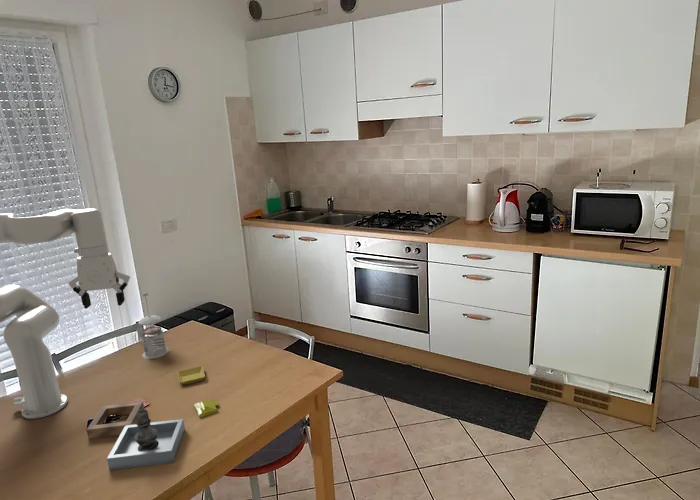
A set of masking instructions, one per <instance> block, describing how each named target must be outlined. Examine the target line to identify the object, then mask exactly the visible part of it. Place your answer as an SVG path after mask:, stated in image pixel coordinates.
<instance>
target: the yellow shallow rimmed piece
mask: <svg viewBox="0 0 700 500" xmlns="http://www.w3.org/2000/svg"><path fill="white" fill-rule="evenodd" d="M176 373H177V379H178V383H179V384H180V385H182V386H183V385H189V384H194V383H197V382H202V381H203V380H204V379H205V378H206V374H205V369H204V366H203V365H200V366H196V367H191V368H187V369H182V370H179V371H177V372H176Z"/></svg>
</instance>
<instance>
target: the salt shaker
mask: <svg viewBox="0 0 700 500" xmlns="http://www.w3.org/2000/svg"><path fill="white" fill-rule="evenodd" d="M148 412H149V411H148V410H147V409H146V408H144V409H142V407H140V410H139V411H137V413H136V417H137V424H136V425H137V426H138V428H139V432H138V433H137V434H136V435H135V437H134V439H135V441H136V442H137V443H138V444H139V446H138V451H139V452H141V451H150V450H154V449H155V448H156V447H157V446H158V444H159V443H158V441H157V440H156V437H157V433H158V431H157V429H155V428H151V426H150V423H152V419H150V418H149V417H150V416H149V413H148Z"/></svg>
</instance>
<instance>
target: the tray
mask: <svg viewBox="0 0 700 500" xmlns="http://www.w3.org/2000/svg"><path fill="white" fill-rule="evenodd" d="M150 426H151V428H155V429H157V431H158V433H157V437H156V440H157V441H158V443H159V444H158V446H157V447H156V448H155V449H154V450H150V451H141V452H139V451H138V446H139V444H138V443H137V442H136V441H135V439H134V437H135V435H136V434H137V433H138V432H139V428H138V426H137V425H136V424H135V425H126V426H125V427H124V429H123V431H122V432H121V434H120V435H118V436H119V437H118V438H117V439H116V442H114V443H115V444H114V445H113V447H112V449H111V450H110V452H109V454H108V456H107V457H106V461H107V465H108V469H109V470H108V471H113V470H114V471H115V470H123V469H129V468H130V469H131V468H138V467H145V466H156V465H161V464H169V463H170V464H171V463H174V462H175V460H176V456H177V453H178V451H179V447H180V445H181V442H182V440H183V436H184V434H185V430H186V427H185V421H184V418H179V419H172V420H171V419H170V420H169V419H168V420H163V421H161V420H160V421H155V422H154V421H153V422H152V421H151V422H150Z"/></svg>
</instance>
